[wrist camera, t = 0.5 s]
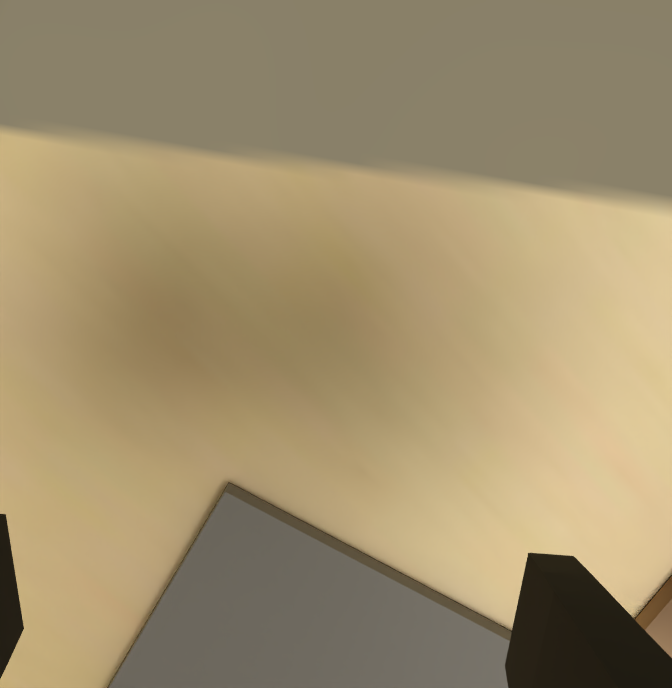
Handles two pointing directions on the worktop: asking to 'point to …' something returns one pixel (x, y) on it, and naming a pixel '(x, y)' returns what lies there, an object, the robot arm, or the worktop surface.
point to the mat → (303, 616)
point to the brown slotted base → (659, 617)
